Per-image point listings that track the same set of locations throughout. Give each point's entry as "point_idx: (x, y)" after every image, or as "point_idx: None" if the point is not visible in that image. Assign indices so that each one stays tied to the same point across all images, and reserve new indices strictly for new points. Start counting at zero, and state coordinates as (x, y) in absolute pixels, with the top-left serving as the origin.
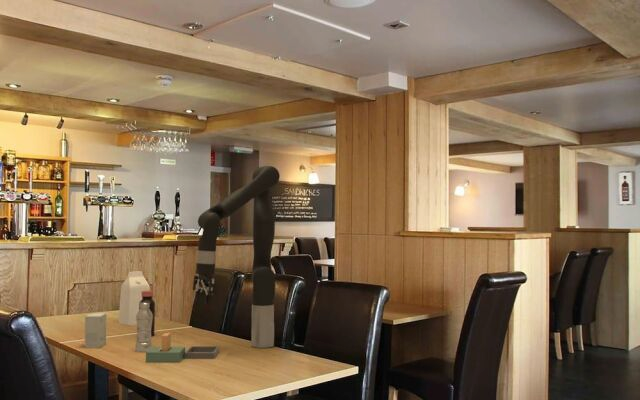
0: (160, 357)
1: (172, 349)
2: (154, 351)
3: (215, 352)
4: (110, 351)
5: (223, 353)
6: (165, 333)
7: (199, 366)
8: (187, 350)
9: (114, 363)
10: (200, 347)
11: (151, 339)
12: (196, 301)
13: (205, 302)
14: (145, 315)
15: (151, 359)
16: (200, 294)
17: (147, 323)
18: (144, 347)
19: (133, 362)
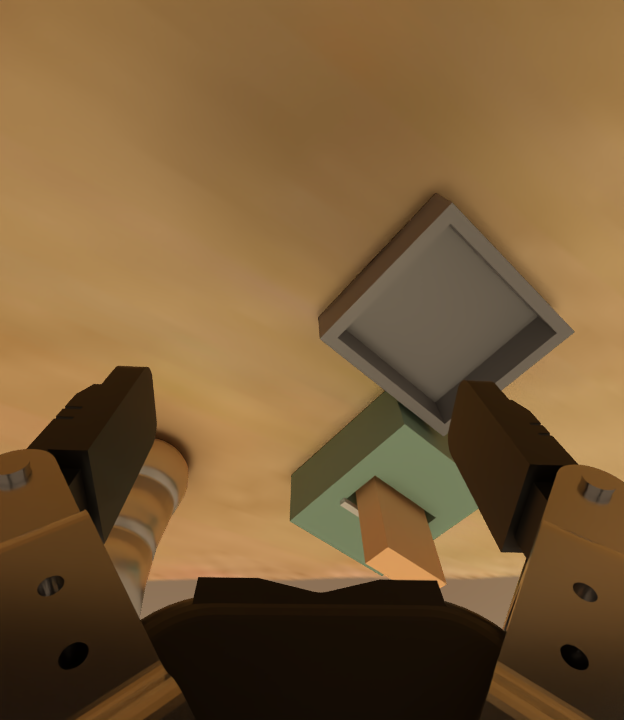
0: None
1: (413, 490)
2: None
3: (546, 303)
4: None
5: (408, 131)
6: (379, 567)
7: (541, 393)
8: (403, 400)
9: (250, 573)
10: (371, 300)
11: (142, 483)
12: (154, 432)
13: (459, 463)
14: None
15: None
16: (102, 445)
17: (142, 597)
18: (182, 497)
19: (279, 531)
